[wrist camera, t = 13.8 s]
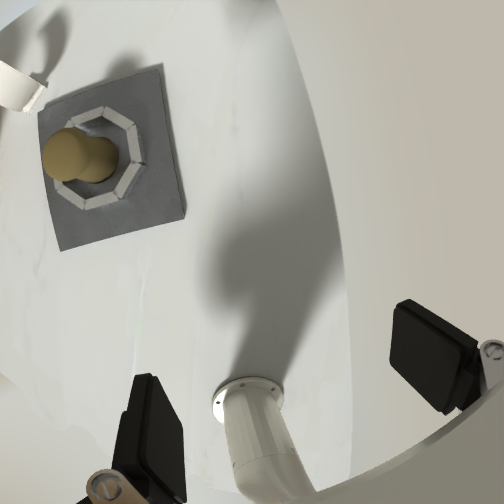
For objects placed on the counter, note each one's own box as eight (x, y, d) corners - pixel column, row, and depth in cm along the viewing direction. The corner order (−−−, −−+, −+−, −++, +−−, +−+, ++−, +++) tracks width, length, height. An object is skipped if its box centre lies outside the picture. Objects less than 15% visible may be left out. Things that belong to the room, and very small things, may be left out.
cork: (92, 193, 30) (52, 200, 20) (69, 158, 28) (24, 152, 18) (128, 162, 30) (98, 154, 20) (103, 127, 29) (67, 107, 18)
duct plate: (184, 217, 35) (183, 222, 31) (64, 249, 32) (50, 257, 28) (159, 73, 29) (155, 60, 25) (42, 114, 27) (27, 108, 23)
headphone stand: (30, 76, 25) (-11, 52, 13) (51, 90, 26) (8, 65, 15) (13, 102, 25) (-32, 86, 13) (33, 117, 27) (-14, 101, 15)
